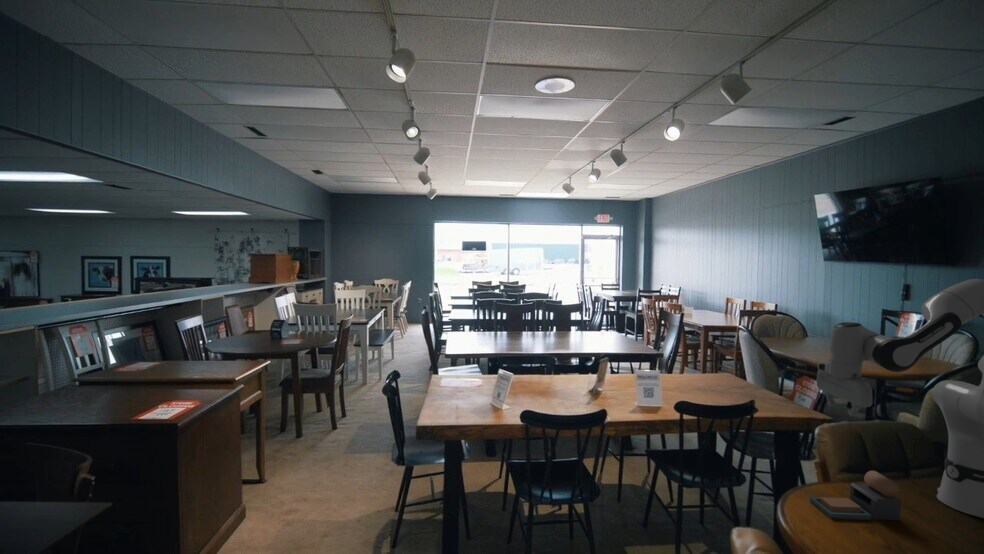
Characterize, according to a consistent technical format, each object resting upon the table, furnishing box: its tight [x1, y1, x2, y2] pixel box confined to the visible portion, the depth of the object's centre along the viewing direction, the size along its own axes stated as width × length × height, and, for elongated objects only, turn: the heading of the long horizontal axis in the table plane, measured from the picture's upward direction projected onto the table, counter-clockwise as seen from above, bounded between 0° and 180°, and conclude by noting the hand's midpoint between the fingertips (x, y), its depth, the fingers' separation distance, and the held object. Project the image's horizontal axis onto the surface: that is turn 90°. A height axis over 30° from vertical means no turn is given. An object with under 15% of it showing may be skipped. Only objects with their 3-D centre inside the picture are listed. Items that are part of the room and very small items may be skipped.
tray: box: [809, 496, 872, 521], centre depth 138 cm, size 12×9×2 cm
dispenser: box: [849, 470, 902, 521], centre depth 138 cm, size 8×9×11 cm
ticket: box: [819, 496, 861, 513], centre depth 138 cm, size 9×5×2 cm, turn 89°
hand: (841, 410), depth 149 cm, fingers open, 8 cm apart
